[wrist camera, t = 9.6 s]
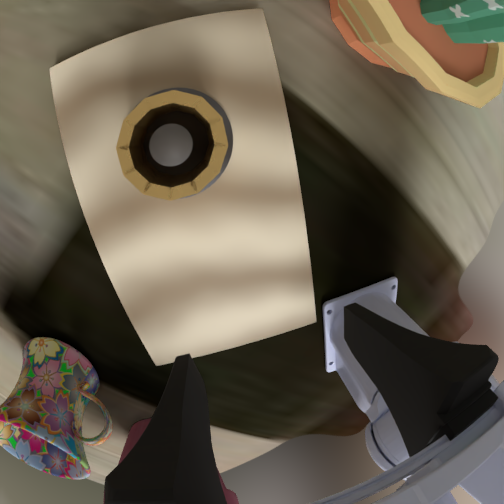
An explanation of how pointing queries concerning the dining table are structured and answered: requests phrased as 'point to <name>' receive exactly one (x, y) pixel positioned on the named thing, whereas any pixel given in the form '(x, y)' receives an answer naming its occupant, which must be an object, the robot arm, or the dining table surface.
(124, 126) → the brass collar
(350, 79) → the dining table surface
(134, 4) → the dining table surface
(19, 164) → the dining table surface
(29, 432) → the mug
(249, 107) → the post board
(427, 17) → the potted cactus
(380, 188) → the dining table surface
